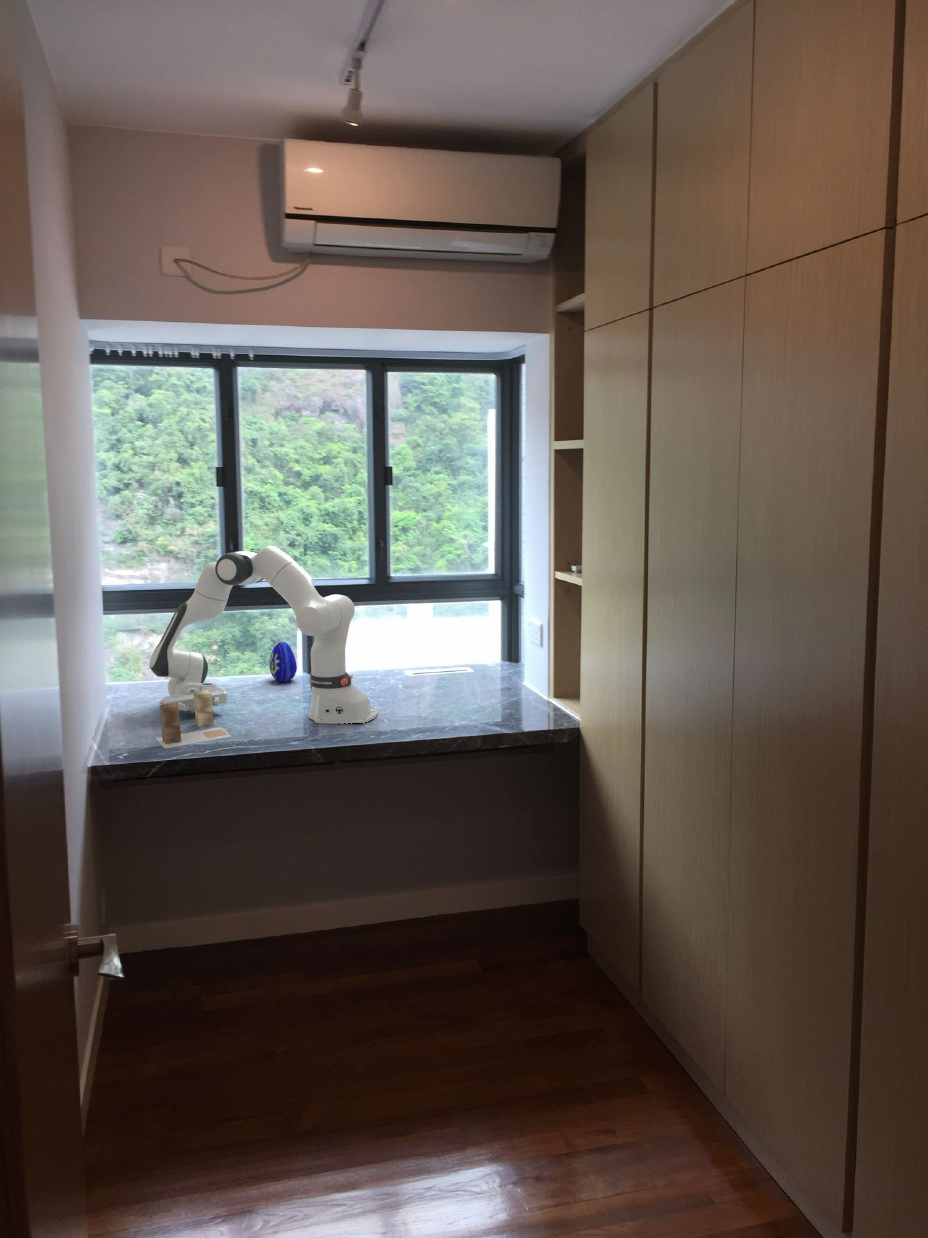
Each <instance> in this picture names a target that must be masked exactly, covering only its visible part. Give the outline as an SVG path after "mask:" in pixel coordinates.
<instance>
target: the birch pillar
mask: <svg viewBox="0 0 928 1238" xmlns="http://www.w3.org/2000/svg"><path fill="white" fill-rule="evenodd" d="M194 704H195V710H194V715H195V716H194V718H195V725H196V726H198V728H205V727H212V726H214V725H215V724H214V711H213V705H212V693H211V692H209V691H208V690H205V691H198V692H194Z"/></svg>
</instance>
